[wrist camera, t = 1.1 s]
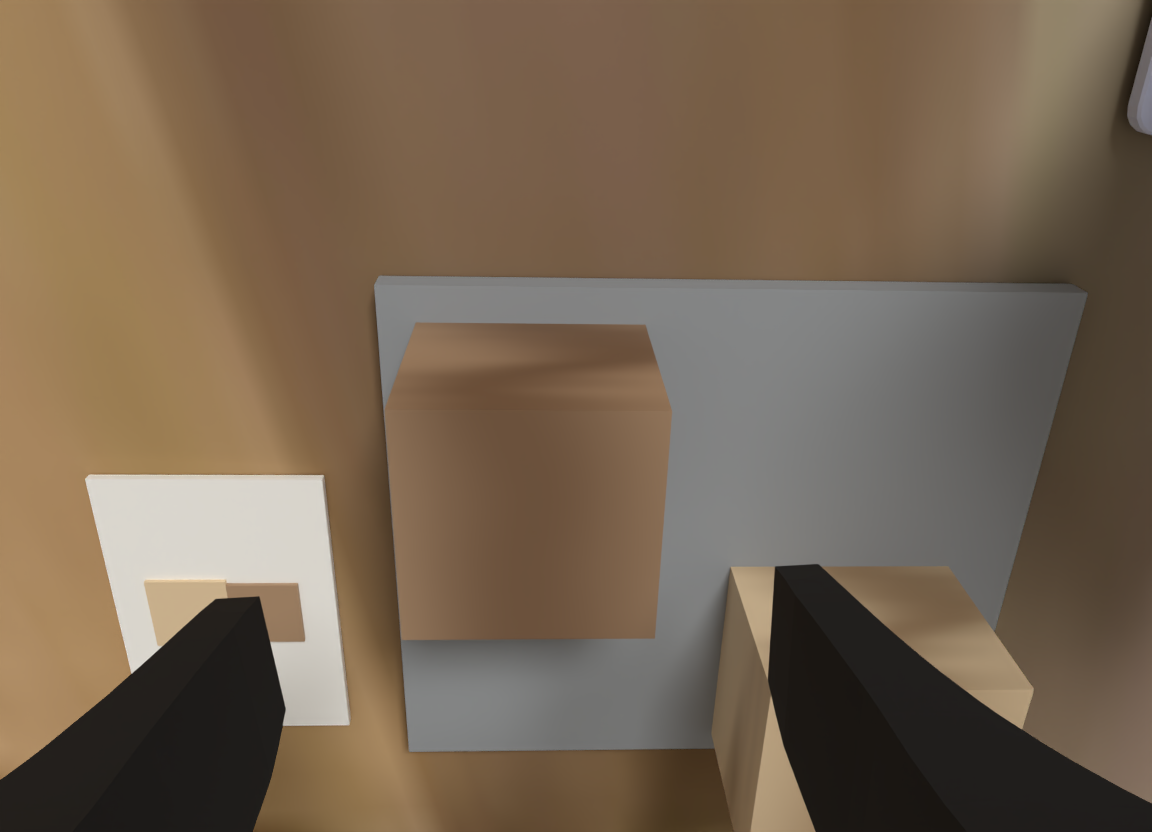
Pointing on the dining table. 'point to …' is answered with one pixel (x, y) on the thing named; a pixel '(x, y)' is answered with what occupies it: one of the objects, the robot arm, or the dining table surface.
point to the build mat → (760, 473)
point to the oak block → (902, 603)
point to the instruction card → (229, 570)
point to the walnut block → (528, 481)
